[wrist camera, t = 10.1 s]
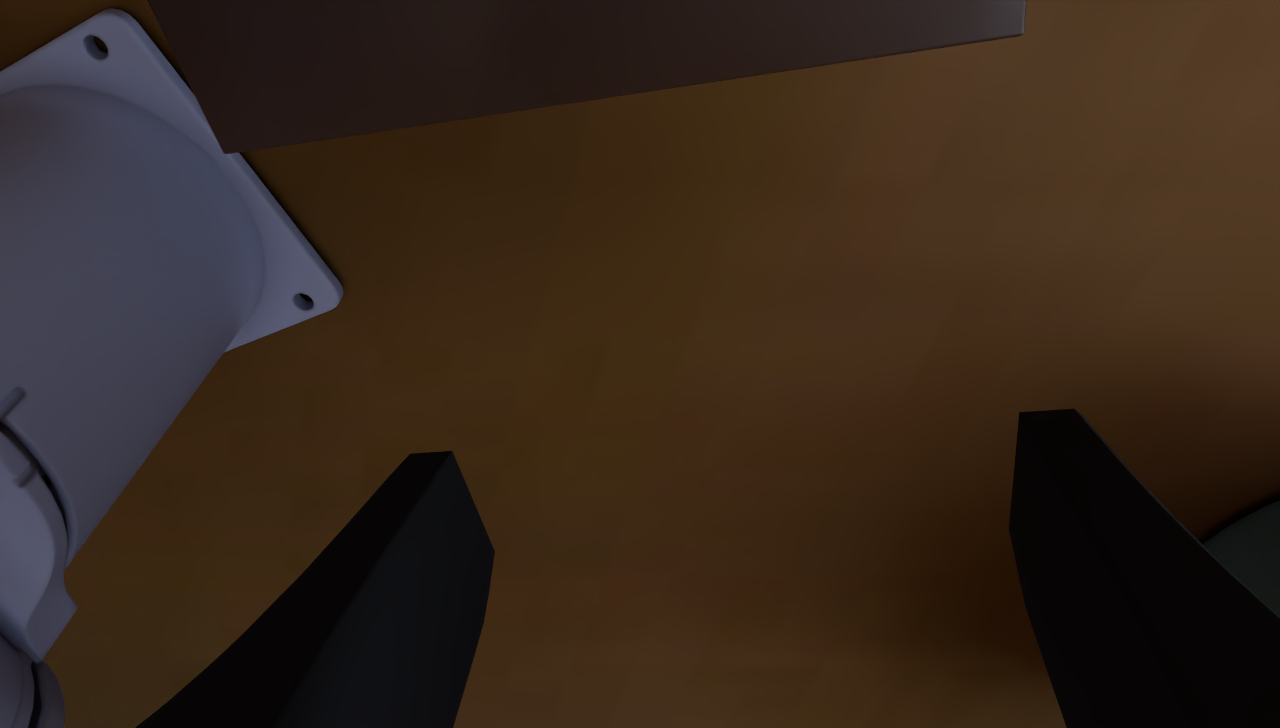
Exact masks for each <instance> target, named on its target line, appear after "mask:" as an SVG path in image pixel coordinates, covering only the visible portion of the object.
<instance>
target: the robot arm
mask: <svg viewBox="0 0 1280 728" xmlns="http://www.w3.org/2000/svg"><path fill="white" fill-rule="evenodd" d="M93 36H96V37H99V38H100V39H101V40H102V41H103V42H104V43H105V44H106V46H107V48H108V53H106V52H103V51H102V50H101V49H99V48H98V47H97V46H96V44H95V42H94V40H93ZM300 293H303V294H306V295H308V296H309V297H310V298H312V300H313V302H310V301H307V300H305V299H303V298H302V297H301V296H300ZM342 296H343V287H342V286H341V284H340V282H339V280H338V279H337V278H336V277H335V275H334V274H333V273H332V271H331V270H330V269H329V268H328V266H327V265H326V264H325V262H324V261H323V260H322V259H321V257H320V256H319V255H318V253H317V252H316V251H315V250H314V248H313V247H312V246H311V244H310V243H309V242H308V241H307V239H306V238H305V237H304V235H303V234H302V233H301V232H300V230H299V229H298V228H297V226H296V225H295V224H294V223H293V221H292V220H291V219H290V217H289V216H288V215H287V214H286V212H285V211H284V210H283V208H282V207H281V206H280V205H279V203H278V202H277V201H276V199H275V198H274V197H273V196H272V194H271V193H270V192H269V190H268V189H267V188H266V187H265V185H264V184H263V183H262V181H261V180H260V179H259V178H258V176H257V175H256V174H255V172H254V171H253V170H252V169H251V167H250V166H249V165H248V163H247V162H246V161H245V160H244V158H243V157H242V156H241V154H240V153H232V154H224V153H223V151H222V149H221V147H220V145H219V143H218V141H217V139H216V137H215V135H214V133H213V131H212V129H211V127H210V125H209V123H208V121H207V119H206V117H205V115H204V113H203V111H202V109H201V107H200V105H199V103H198V101H197V99H196V97H195V95H194V94H193V93H192V91H191V90H190V89H189V88H188V86H187V85H186V84H185V82H184V81H183V80H182V79H181V77H180V76H179V75H178V73H177V72H176V71H175V70H174V68H173V67H172V66H171V64H170V63H169V62H168V61H167V59H166V58H165V57H164V55H163V54H162V53H161V52H160V50H159V49H158V48H157V46H156V45H155V44H154V43H153V41H152V40H151V39H150V37H149V36H148V35H147V34H146V32H145V31H144V30H143V28H142V27H141V26H140V25H139V23H138V22H137V21H136V20H135V19H134V18H133V17H132V16H131V15H129V14H127V13H126V12H124V11H122V10H119V9H113V8H110V9H107V10H103V11H102V12H100V13H98V14H96V15H95V16H93V17H91V18H90V19H88V20H86V21H85V22H83V23H81V24H80V25H78V26H76V27H74V28H73V29H71V30H69V31H68V32H66V33H64V34H63V35H61V36H59V37H58V38H56V39H54V40H53V41H51V42H49V43H48V44H46V45H44V46H42V47H41V48H39V49H37V50H36V51H34V52H32V53H31V54H29V55H27V56H26V57H24V58H22V59H21V60H19V61H17V62H16V63H14V64H12V65H11V66H9V67H7V68H5V69H4V70H2V71H0V728H64V724H65V706H64V697H63V694H62V691H61V688H60V685H59V682H58V679H57V677H56V675H55V674H54V673H53V671H52V670H51V669H50V667H49V666H48V665H47V663H46V662H44V661H43V658H44V657H45V655H46V654H47V652H48V651H49V650H50V648H51V647H52V645H53V644H54V642H55V641H56V639H57V638H58V636H59V635H60V634H61V632H62V631H63V629H64V628H65V626H66V625H67V623H68V622H69V620H70V619H71V618H72V616H73V615H74V613H75V612H76V610H77V609H78V607H77V605H76V603H75V601H74V600H73V599H72V597H71V596H70V595H69V593H68V591H67V589H66V587H65V584H64V580H63V574H64V570H65V569H66V568H67V566H68V565H69V564H70V562H71V561H72V560H73V558H74V557H75V556H76V554H77V553H78V551H79V550H80V549H81V547H82V546H83V545H84V543H85V542H86V540H87V539H88V538H89V536H90V535H91V534H92V532H93V531H94V530H95V528H96V527H97V525H98V524H99V523H100V521H101V520H102V519H103V517H104V516H105V514H106V513H107V512H108V510H109V509H110V508H111V506H112V505H113V504H114V502H115V501H116V499H117V498H118V497H119V495H120V494H121V493H122V491H123V490H124V488H125V487H126V486H127V484H128V483H129V482H130V480H131V479H132V478H133V476H134V475H135V473H136V472H137V471H138V469H139V468H140V467H141V465H142V464H143V462H144V461H145V460H146V458H147V457H148V456H149V454H150V453H151V452H152V450H153V449H154V447H155V446H156V445H157V443H158V442H159V441H160V439H161V438H162V436H163V435H164V434H165V432H166V431H167V430H168V428H169V427H170V426H171V424H172V423H173V421H174V420H175V419H176V417H177V416H178V415H179V413H180V412H181V410H182V409H183V408H184V406H185V405H186V404H187V402H188V401H189V399H190V398H191V397H192V395H193V394H194V393H195V391H196V390H197V389H198V387H199V386H200V384H201V383H202V382H203V380H204V379H205V378H206V376H207V375H208V373H209V372H210V371H211V369H212V368H213V367H214V365H215V364H216V363H217V361H218V360H219V358H220V357H221V356H222V354H223V353H224V352H226V351H229V350H231V349H234V348H236V347H239V346H241V345H244V344H247V343H249V342H252V341H254V340H257V339H259V338H262V337H264V336H267V335H269V334H272V333H274V332H277V331H279V330H282V329H284V328H287V327H290V326H292V325H295V324H297V323H300V322H302V321H305V320H307V319H310V318H312V317H315V316H317V315H320V314H322V313H325V312H328V311H330V310H332V309H334V308H335V307H337V305H338V304H339V302H340V300H341V298H342ZM1009 531H1010V536H1011V541H1012V546H1013V551H1014V556H1015V560H1016V565H1017V570H1018V575H1019V579H1020V584H1021V588H1022V593H1023V597H1024V602H1025V606H1026V609H1027V612H1028V615H1029V618H1030V621H1031V624H1032V627H1033V630H1034V633H1035V636H1036V639H1037V642H1038V645H1039V648H1040V651H1041V654H1042V657H1043V660H1044V663H1045V666H1046V669H1047V672H1048V674H1049V677H1050V680H1051V683H1052V686H1053V689H1054V692H1055V695H1056V698H1057V701H1058V704H1059V706H1060V709H1061V712H1062V715H1063V718H1064V721H1065V724H1066V727H1067V728H1280V616H1279V615H1278V614H1276V613H1275V612H1274V611H1273V610H1272V609H1271V608H1270V607H1269V606H1268V605H1266V604H1265V603H1264V602H1263V601H1262V600H1261V599H1260V598H1259V597H1258V596H1257V595H1255V594H1254V593H1253V592H1252V591H1251V590H1250V589H1249V588H1248V587H1247V586H1245V585H1244V584H1243V583H1242V582H1241V581H1240V580H1239V579H1238V578H1237V577H1236V576H1235V575H1233V574H1232V573H1231V572H1230V571H1229V570H1228V569H1227V568H1226V567H1225V566H1224V565H1223V564H1222V563H1221V562H1220V561H1219V560H1218V559H1217V558H1216V557H1215V556H1213V555H1212V554H1211V553H1210V552H1209V551H1208V550H1207V549H1206V548H1205V547H1204V546H1203V545H1202V544H1201V543H1200V542H1199V541H1198V540H1197V539H1196V538H1195V537H1194V536H1193V535H1192V534H1191V533H1190V532H1189V531H1188V530H1187V529H1186V528H1185V527H1184V526H1183V525H1182V524H1181V523H1180V522H1179V521H1178V520H1177V519H1176V518H1175V517H1174V516H1173V515H1172V514H1171V513H1170V512H1169V511H1168V510H1167V509H1166V507H1165V506H1164V505H1163V504H1162V503H1161V502H1160V501H1159V500H1158V499H1157V498H1156V497H1155V496H1154V495H1153V494H1152V493H1151V492H1150V491H1149V490H1148V488H1147V487H1146V486H1145V485H1144V484H1143V483H1142V482H1141V481H1140V480H1139V479H1138V478H1137V477H1136V475H1135V474H1134V473H1133V472H1132V471H1131V470H1130V469H1129V468H1128V467H1127V466H1126V464H1125V463H1124V462H1123V461H1122V460H1121V459H1120V458H1119V457H1118V456H1117V454H1116V453H1115V452H1114V451H1113V450H1112V449H1111V448H1110V446H1109V445H1108V444H1107V443H1106V442H1105V441H1104V440H1103V438H1102V437H1101V436H1100V435H1099V434H1098V433H1097V431H1096V430H1095V429H1094V428H1093V427H1092V426H1091V425H1090V423H1089V422H1088V421H1087V420H1086V419H1085V417H1084V416H1083V415H1081V414H1080V413H1079V412H1078V411H1077V410H1075V409H1063V410H1048V411H1033V412H1019V423H1018V434H1017V445H1016V456H1015V468H1014V479H1013V490H1012V501H1011V512H1010V523H1009ZM494 554H495V551H494V549H493V546H492V544H491V542H490V539H489V537H488V535H487V532H486V530H485V527H484V525H483V523H482V520H481V518H480V516H479V513H478V511H477V509H476V506H475V504H474V501H473V499H472V497H471V494H470V492H469V490H468V487H467V485H466V483H465V480H464V478H463V475H462V473H461V471H460V468H459V466H458V464H457V461H456V459H455V457H454V454H453V452H452V451H445V452H430V453H415V454H410V455H409V456H408V457H407V458H406V459H405V460H404V461H403V462H402V463H401V464H400V465H399V466H398V467H397V468H396V470H395V471H394V472H393V473H392V474H391V475H390V476H389V477H388V478H387V480H386V481H385V482H384V483H383V484H382V485H381V486H380V487H379V489H378V490H377V491H376V492H375V493H374V494H373V495H372V497H371V498H370V499H369V500H368V501H367V502H366V503H365V504H364V506H363V507H362V508H361V509H360V510H359V511H358V512H357V514H356V515H355V516H354V517H353V518H352V519H351V520H350V521H349V523H348V524H347V525H346V526H345V527H344V528H343V529H342V530H341V532H340V533H339V534H338V535H337V536H336V537H335V538H334V539H333V540H332V541H331V543H330V544H329V545H328V546H327V547H326V548H325V549H324V550H323V551H322V552H321V554H320V555H319V556H318V557H317V558H316V559H315V560H314V561H313V562H312V564H311V565H310V566H309V567H308V568H307V569H306V570H305V571H304V572H303V573H302V574H301V575H300V576H299V578H298V579H297V580H296V581H295V582H294V583H293V584H292V585H291V586H290V587H289V588H288V589H287V590H286V591H285V592H284V593H283V594H282V595H281V596H280V597H279V598H278V599H277V600H276V601H275V602H274V603H273V604H272V605H271V606H270V607H269V608H268V609H267V610H266V611H265V612H264V613H263V614H262V615H261V616H260V617H259V618H258V619H257V620H256V621H255V622H254V623H253V624H252V625H251V626H250V627H249V628H248V629H247V630H246V631H245V632H244V633H243V634H242V635H241V636H240V637H239V638H238V639H237V640H236V641H235V642H234V643H233V644H232V645H231V646H230V647H229V648H228V649H227V650H226V651H224V652H223V653H222V654H221V655H220V656H219V657H218V658H217V659H216V660H215V661H214V662H213V663H211V664H210V665H209V666H208V667H207V668H206V669H205V670H204V671H202V672H201V673H200V674H199V675H198V676H197V677H196V678H194V679H193V680H192V681H191V682H190V683H189V684H188V685H186V686H185V687H184V688H183V689H182V690H181V691H180V692H178V693H177V694H176V695H175V696H174V697H173V698H172V699H170V700H169V701H168V702H167V703H166V704H164V705H163V706H162V707H161V708H160V709H158V710H157V711H156V712H155V713H153V714H152V715H151V716H150V717H148V718H147V719H146V720H145V721H143V722H142V723H141V724H139V725H138V726H137V727H136V728H453V726H454V722H455V719H456V716H457V712H458V709H459V706H460V702H461V699H462V695H463V692H464V689H465V685H466V682H467V679H468V675H469V672H470V668H471V665H472V662H473V658H474V655H475V651H476V648H477V644H478V641H479V637H480V634H481V630H482V626H483V623H484V618H485V612H486V606H487V600H488V595H489V589H490V582H491V575H492V568H493V561H494Z"/></svg>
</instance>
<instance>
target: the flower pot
mask: <svg viewBox="0 0 1280 728" xmlns="http://www.w3.org/2000/svg"><path fill="white" fill-rule="evenodd" d="M1202 545H1203V546H1204V547H1205V548H1206V549H1207V550H1208V551H1209V552H1210V553H1211V554H1212V555H1213V556H1215V557H1216V558H1217V559H1218V560H1219V561H1220V562H1221V563H1222V564H1223V565H1224V566H1225V567H1226V568H1227V569H1228V570H1229V571H1230V572H1231V573H1232V574H1233V575H1235V576H1236V577H1237V578H1238V579H1239V580H1240V581H1241V582H1242V583H1243V584H1244V585H1245V586H1247V587H1248V588H1249V589H1250V590H1251V591H1252V592H1253V593H1254V594H1255V595H1257V596H1258V597H1259V598H1260V599H1261V600H1262V601H1263V602H1264V603H1265V604H1266V605H1268V606H1269V607H1270V608H1271V609H1272V610H1273V611H1274V612H1275V613H1276V614H1278V615H1279V616H1280V500H1279V501H1277V502H1274V503H1272V504H1270V505H1267V506H1265V507H1263V508H1261V509H1259V510H1257V511H1255V512H1253V513H1251V514H1250V515H1248V516H1246V517H1244V518H1242V519H1240V520H1239V521H1237V522H1235V523H1233V524H1231V525H1229V526H1228V527H1227V528H1225V529H1224V530H1222V531H1221V532H1219V533H1218V534H1216V535H1215V536H1213V537H1212V538H1210V539H1209V540H1207V541H1206V542H1205V543H1203V544H1202Z"/></svg>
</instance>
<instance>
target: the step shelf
mask: <svg viewBox="0 0 1280 728" xmlns="http://www.w3.org/2000/svg"><path fill="white" fill-rule="evenodd" d="M148 2H149V5H150V7H151V9H152V11H153V13H154V15H155V17H156V19H157V21H158V23H159V25H160V27H161V29H162V31H163V33H164V35H165V37H166V39H167V41H168V43H169V45H170V47H171V49H172V51H173V53H174V55H175V57H176V59H177V61H178V63H179V65H180V67H181V69H182V71H183V73H184V75H185V77H186V79H187V81H188V83H189V85H190V87H191V89H192V91H193V93H194V95H195V97H196V99H197V101H198V103H199V105H200V107H201V109H202V111H203V113H204V115H205V117H206V119H207V121H208V123H209V125H210V127H211V129H212V131H213V133H214V135H215V137H216V139H217V141H218V143H219V145H220V147H221V149H222V151H223V153H224V154H232V153H239V152H245V151H252V150H259V149H266V148H272V147H279V146H286V145H292V144H299V143H306V142H313V141H319V140H326V139H333V138H340V137H346V136H353V135H360V134H366V133H373V132H380V131H387V130H393V129H400V128H407V127H413V126H420V125H427V124H434V123H440V122H447V121H454V120H460V119H467V118H474V117H481V116H487V115H494V114H501V113H507V112H514V111H521V110H528V109H534V108H541V107H548V106H554V105H561V104H568V103H575V102H581V101H588V100H595V99H601V98H608V97H615V96H622V95H628V94H635V93H642V92H648V91H655V90H662V89H669V88H675V87H682V86H689V85H695V84H702V83H709V82H716V81H722V80H729V79H736V78H742V77H749V76H756V75H763V74H769V73H776V72H783V71H789V70H796V69H803V68H810V67H816V66H823V65H830V64H836V63H843V62H850V61H857V60H863V59H870V58H877V57H883V56H890V55H897V54H904V53H910V52H917V51H924V50H930V49H937V48H944V47H951V46H957V45H964V44H971V43H978V42H984V41H991V40H998V39H1004V38H1011V37H1018V36H1021V35H1023V33H1024V29H1025V15H1026V0H148Z"/></svg>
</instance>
